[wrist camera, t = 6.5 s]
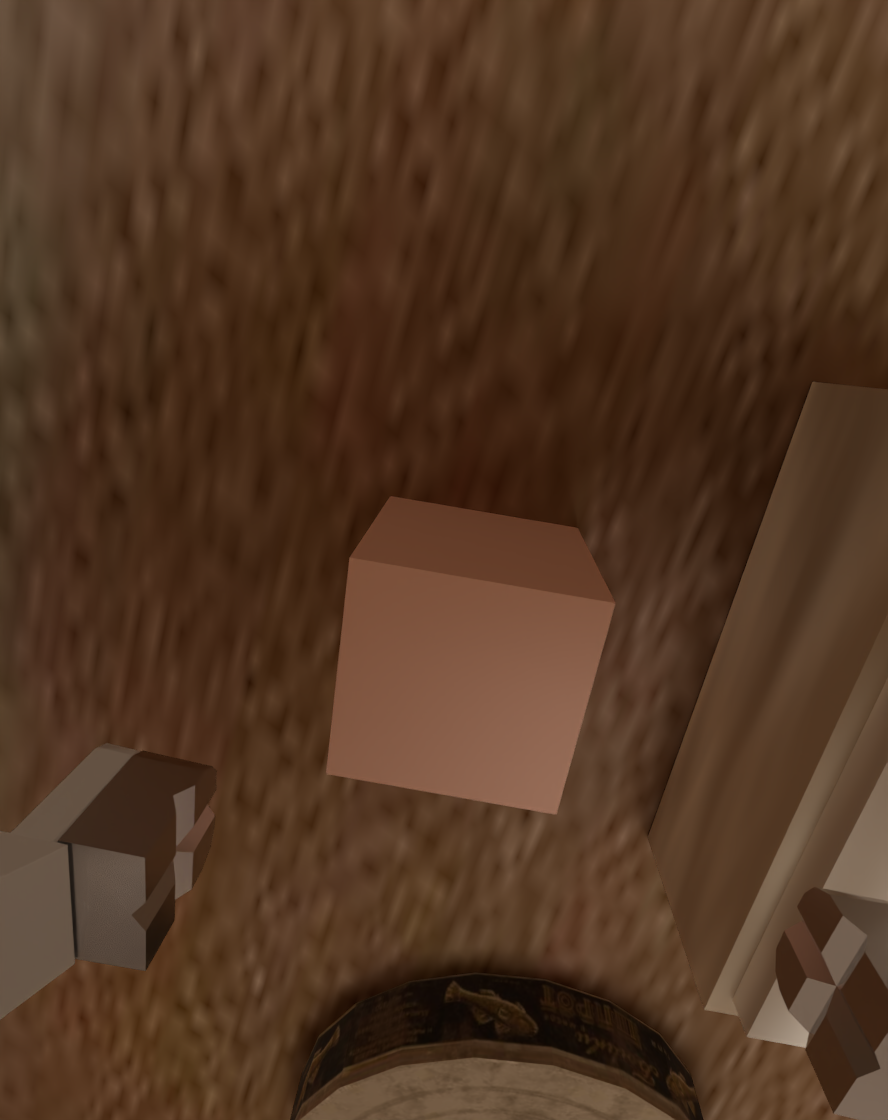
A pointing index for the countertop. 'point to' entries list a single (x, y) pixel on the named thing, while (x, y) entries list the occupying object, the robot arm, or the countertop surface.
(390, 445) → the countertop surface
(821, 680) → the cream square block
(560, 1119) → the brown flat disc
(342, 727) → the terracotta cube
